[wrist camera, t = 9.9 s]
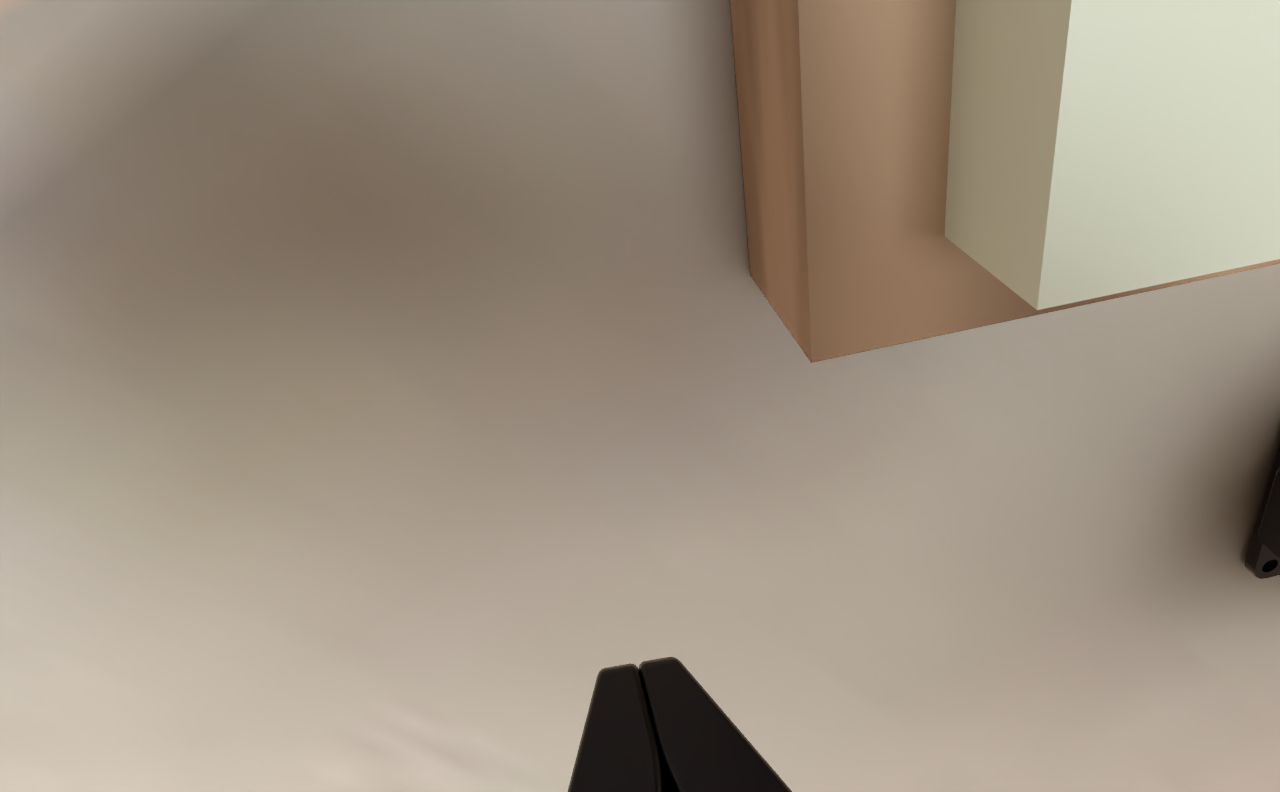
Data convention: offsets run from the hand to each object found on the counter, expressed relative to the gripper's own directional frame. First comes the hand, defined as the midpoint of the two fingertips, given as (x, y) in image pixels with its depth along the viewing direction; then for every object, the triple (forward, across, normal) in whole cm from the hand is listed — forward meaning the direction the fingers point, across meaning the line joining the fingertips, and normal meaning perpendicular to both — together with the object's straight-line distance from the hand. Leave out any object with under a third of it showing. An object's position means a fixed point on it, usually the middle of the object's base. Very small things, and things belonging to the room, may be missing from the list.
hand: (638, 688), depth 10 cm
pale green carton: (+8, -9, -5) cm, 13 cm away
